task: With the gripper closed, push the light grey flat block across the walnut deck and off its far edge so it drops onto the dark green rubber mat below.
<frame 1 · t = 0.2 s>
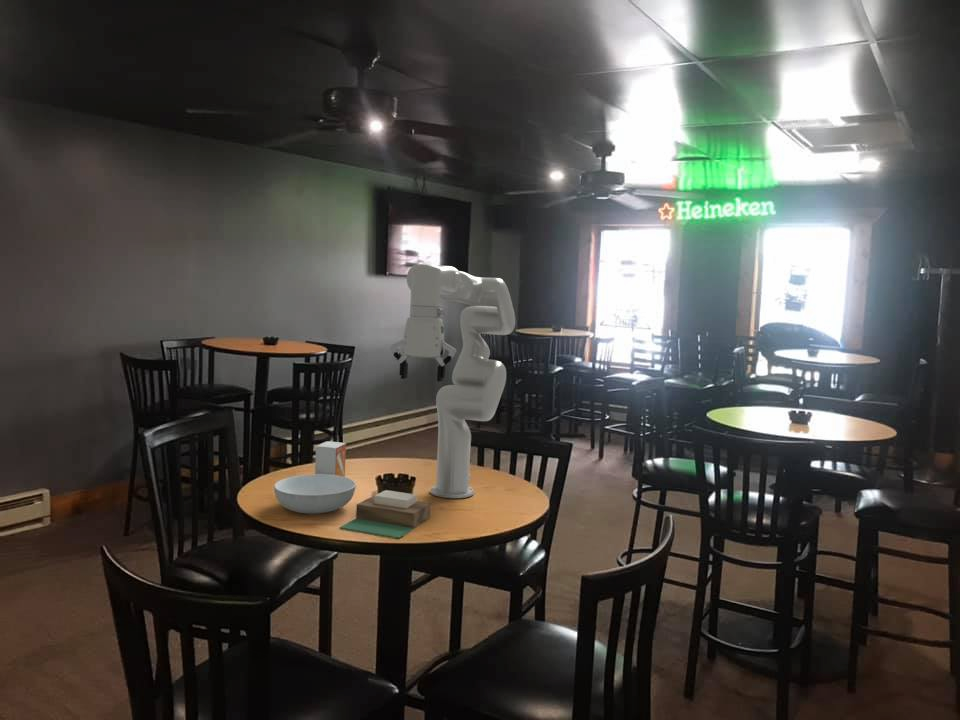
hand: (422, 379, 191), 36 cm above the table, tool pointing down, fingers open, 9 cm apart
light grey flat block: (395, 502, 190), point 4 cm above the table, touching deck
deck: (393, 519, 190), on the table
small box: (329, 489, 216), on the table
serving bowl: (314, 510, 195), on the table
mat: (376, 529, 181), on the table
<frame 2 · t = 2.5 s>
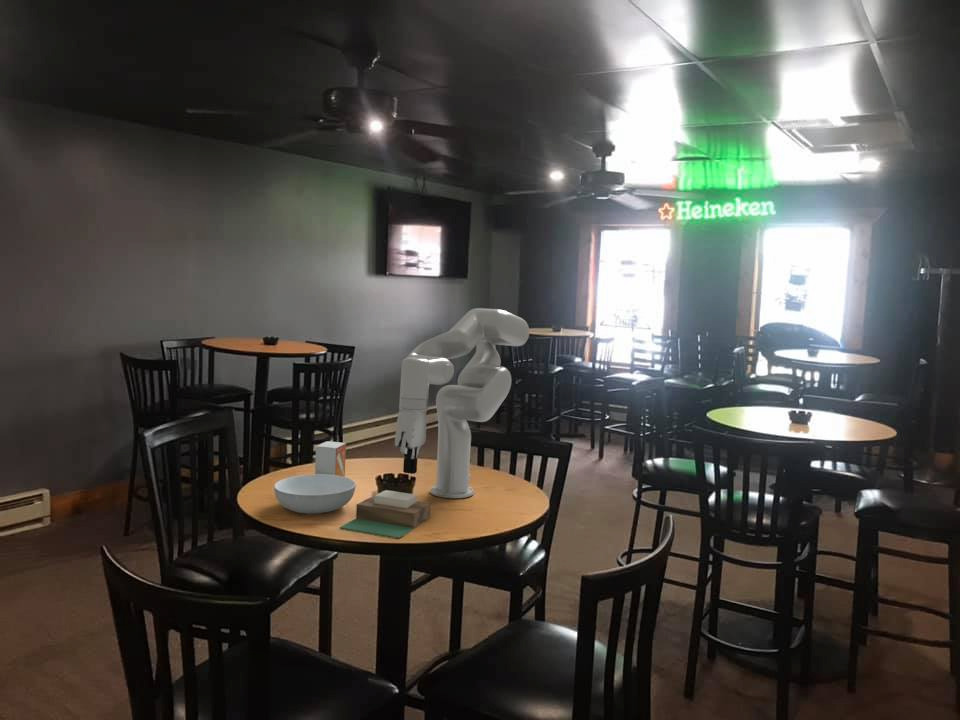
hand: (409, 472, 198), 10 cm above the table, tool pointing down, fingers closed
nothing on the table moved.
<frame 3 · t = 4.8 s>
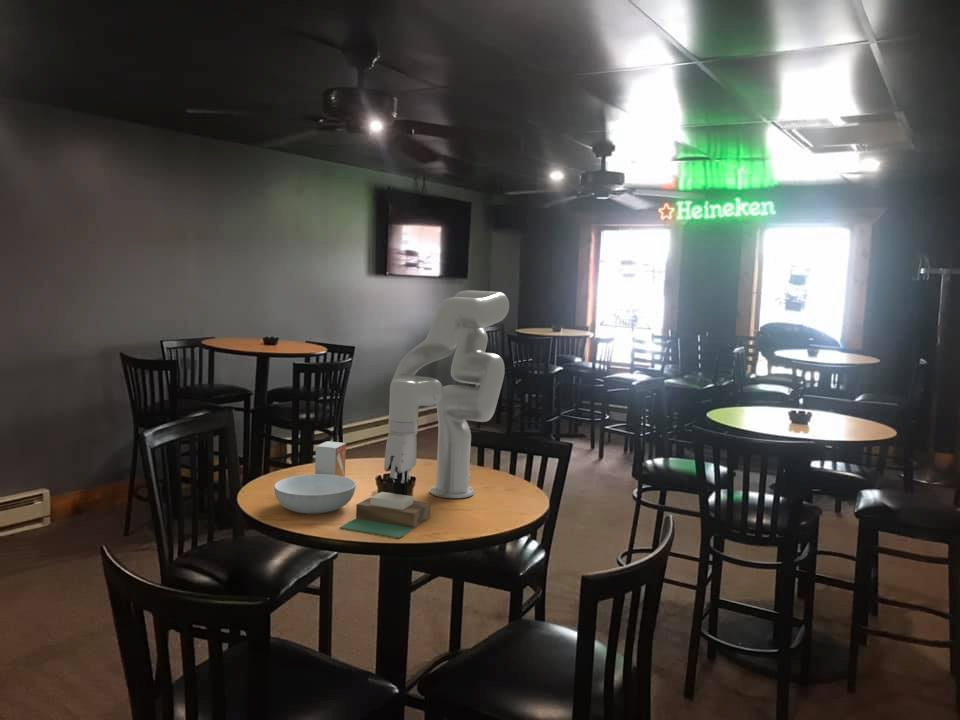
hand: (400, 496, 193), 5 cm above the table, tool pointing down, fingers closed
light grey flat block: (391, 504, 189), point 4 cm above the table
everything else where it was.
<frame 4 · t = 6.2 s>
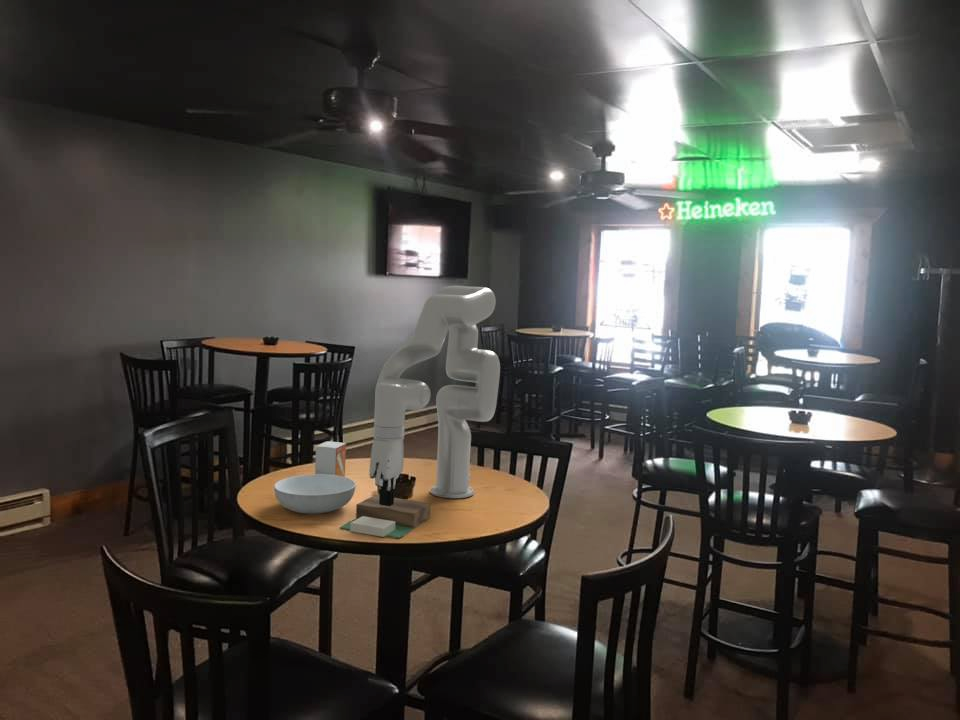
hand: (386, 504, 185), 5 cm above the table, tool pointing down, fingers closed
light grey flat block: (373, 522, 179), point 2 cm above the table, tilted 180°, touching mat
everything else where it was.
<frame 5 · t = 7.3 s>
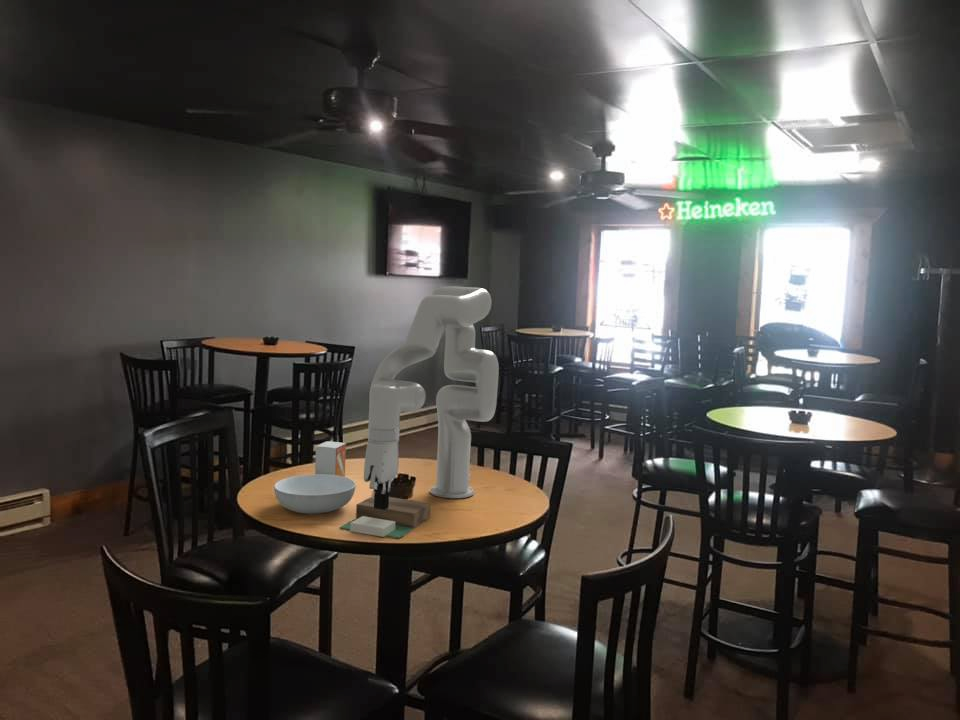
hand: (381, 508, 183), 5 cm above the table, tool pointing down, fingers closed
nothing on the table moved.
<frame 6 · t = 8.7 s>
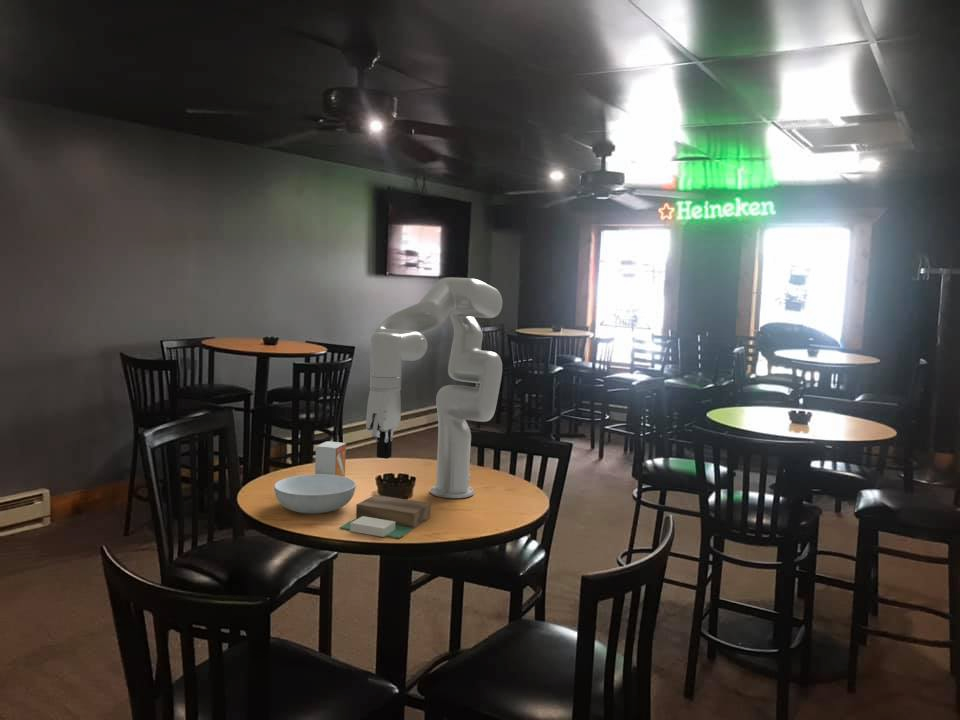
hand: (384, 457, 182), 17 cm above the table, tool pointing down, fingers closed
nothing on the table moved.
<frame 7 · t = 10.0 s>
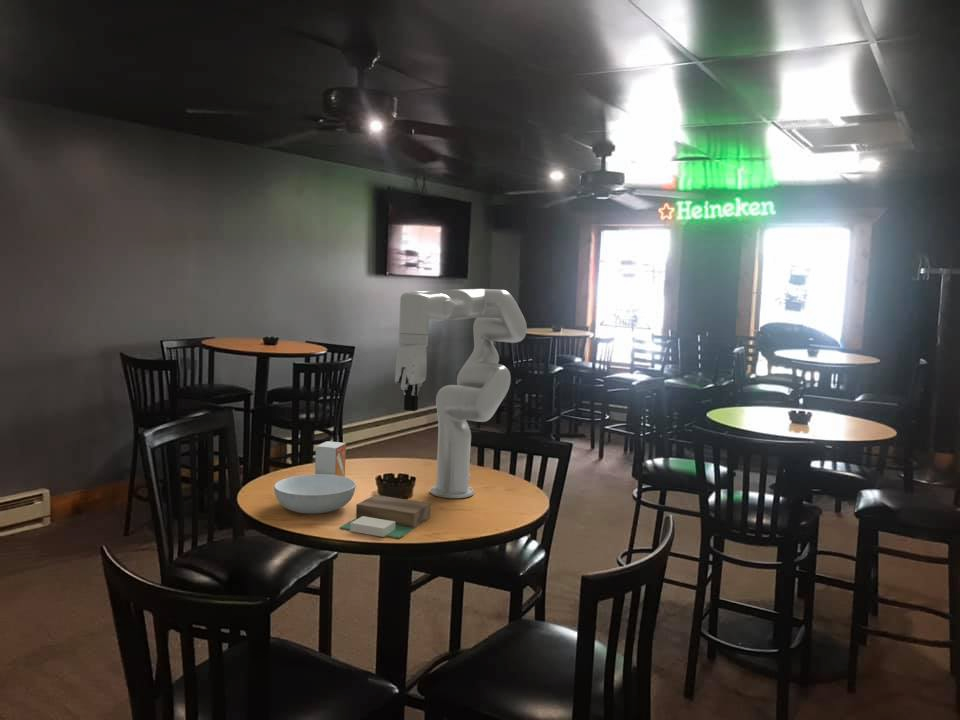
hand: (410, 410, 195), 27 cm above the table, tool pointing down, fingers closed
nothing on the table moved.
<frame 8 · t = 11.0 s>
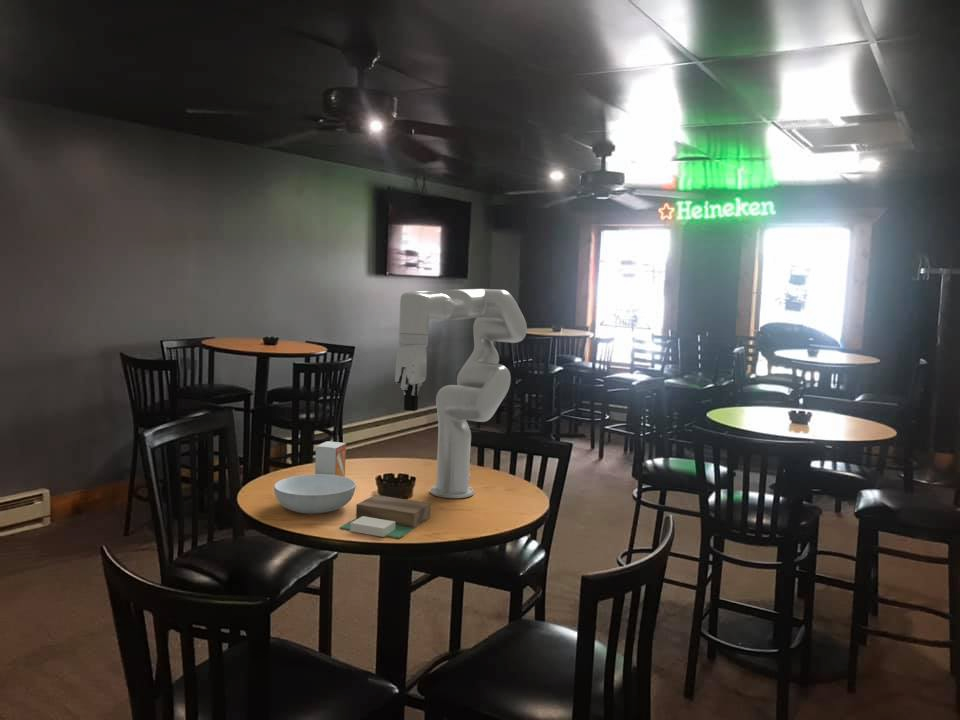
hand: (410, 409, 195), 27 cm above the table, tool pointing down, fingers closed
nothing on the table moved.
at the end: light grey flat block point 2.4 cm above the table; light grey flat block inside the target area (2.3 cm from its centre), point 2.4 cm above the table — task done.
